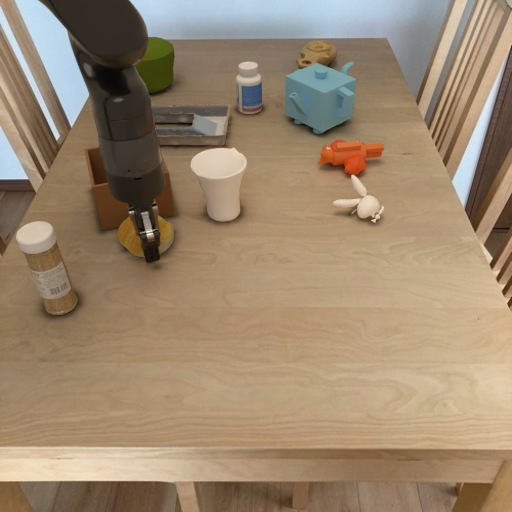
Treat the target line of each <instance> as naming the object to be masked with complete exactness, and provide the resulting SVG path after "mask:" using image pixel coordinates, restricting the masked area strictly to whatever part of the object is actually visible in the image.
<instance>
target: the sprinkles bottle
mask: <svg viewBox="0 0 512 512" xmlns="http://www.w3.org/2000/svg"><path fill="white" fill-rule="evenodd" d="M15 240H16V242H17V245H18V247H19V250H21V252H22V253H23V255H24V258H25V260H26V262H27V266H28V269H29V271H30V274H31V276H32V279H33V281H34V284H35V286H36V289H37V291H38V293H39V295H40V297H41V300H42V302H43V304H44V309H45V311H46V312H47V313H48V314H49V315H53V316H62V315H65V314H67V313H69V312H72V310H74V309H75V308H76V306H77V304H78V301H79V300H78V299H79V298H78V295H76V292H75V290H74V287H73V284H72V279H71V276H70V274H69V270H68V268H67V265H66V263H65V261H64V258H63V255H62V252H61V250H60V247H59V244H58V237H57V233H56V231H55V229H54V226H52V224H51V223H50V222H48V221H43V220H37V221H32V222H28V223H26V224H24V225H23V226H22V227H20V228H19V229H18V230H17V232H16V234H15Z"/></svg>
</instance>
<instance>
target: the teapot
mask: <svg viewBox="0 0 512 512" xmlns="http://www.w3.org/2000/svg"><path fill="white" fill-rule="evenodd" d="M354 64H355V62H354V61H349V62H346V63H345V64H344V65H343V66H342V68H341V70H340V71H339V70H336V69H334V68H331V67H328V66H324V65H321V64H318V63H316V64H314V65H311V66H309V67H306V68H304V69H300V68H298V69H295V70H294V71H293V72H292V73H288V74H287V75H285V78H284V82H285V83H284V115H286V116H288V117H291V118H292V119H294V120H293V123H294V124H296V125H303V124H304V125H306V126H308V127H310V128H312V132H313V133H314V134H317V135H319V134H323V133H325V132H326V131H328V130H329V129H331V128H333V127H336V126H338V125H341V124H343V123H344V122H345V121H348V120H350V119H352V118H353V117H354V107H355V99H356V88H357V81H358V80H357V78H355V77H353V76H351V75H348V74H349V71H350V69H351V68H352V66H353V65H354Z"/></svg>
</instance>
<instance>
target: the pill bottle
mask: <svg viewBox="0 0 512 512" xmlns="http://www.w3.org/2000/svg"><path fill="white" fill-rule="evenodd" d="M262 78H263V77H262V76H261V74H260V73H259V65H258V63H257V62H255V61H243V62H241V63H239V64H238V74H237V75H236V77H235V86H236V87H235V89H236V105H237V106H236V107H237V110H238V111H239V112H240V113H241V114H245V115H254V114H258V113H259V112H261V111H262V110H263V80H262Z"/></svg>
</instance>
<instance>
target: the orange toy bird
mask: <svg viewBox="0 0 512 512" xmlns="http://www.w3.org/2000/svg"><path fill="white" fill-rule="evenodd" d="M384 149H385V146H384V143H383V142H379V143H368V144H365V143H364V142H361V141H360V140H356V141H346V140H343V139H341V138H338V139H336V140H334V141H333V142H331V143H330V144H324V145H323V147H322V150H321V151H320V152H319V154H320V159H319V161H318V165H319V166H321V165H324V164H331V165H332V166H344V173H346V174H349V175H355V176H356V175H359V173H361V172H363V171H365V170H366V168H367V163H366V159H374V158H381V157H382V155H383V152H384Z"/></svg>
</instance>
